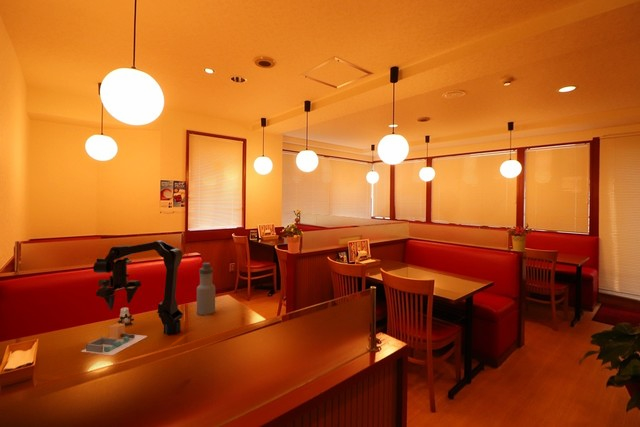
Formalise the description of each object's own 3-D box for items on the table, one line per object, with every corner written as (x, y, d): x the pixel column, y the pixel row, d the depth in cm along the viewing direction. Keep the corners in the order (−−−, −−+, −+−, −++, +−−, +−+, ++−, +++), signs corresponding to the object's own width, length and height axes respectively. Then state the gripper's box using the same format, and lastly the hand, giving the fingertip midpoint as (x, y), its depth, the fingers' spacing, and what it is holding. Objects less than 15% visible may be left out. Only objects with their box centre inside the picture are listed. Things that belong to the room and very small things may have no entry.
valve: (116, 321, 152) (118, 329, 142) (116, 308, 152) (118, 315, 142) (131, 318, 156) (134, 326, 146) (131, 306, 156) (134, 312, 146)
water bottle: (197, 310, 170) (197, 261, 170) (215, 308, 173) (215, 261, 173) (195, 316, 160) (196, 265, 160) (214, 314, 163) (215, 264, 163)
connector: (136, 337, 131) (136, 325, 131) (130, 340, 127) (130, 328, 127) (116, 335, 133) (116, 323, 133) (109, 338, 130) (109, 326, 130)
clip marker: (128, 341, 127) (129, 336, 127) (118, 346, 122) (118, 341, 122) (125, 340, 128) (125, 336, 128) (114, 345, 123) (114, 341, 123)
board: (147, 338, 132) (147, 336, 132) (111, 357, 115) (111, 355, 115) (119, 335, 135) (119, 333, 135) (80, 353, 118) (80, 351, 118)
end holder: (116, 344, 124) (116, 338, 124) (100, 352, 117) (100, 346, 117) (102, 342, 125) (102, 337, 125) (86, 350, 118) (86, 344, 118)
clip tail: (118, 346, 122) (118, 341, 122) (108, 351, 118) (108, 347, 118) (114, 345, 123) (114, 341, 123) (103, 351, 118) (103, 346, 118)
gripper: (123, 268, 148) (123, 299, 148) (85, 276, 129) (86, 311, 130) (141, 269, 145) (142, 300, 145) (106, 277, 127) (106, 313, 127)
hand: (120, 306), depth 137 cm, fingers open, 9 cm apart
